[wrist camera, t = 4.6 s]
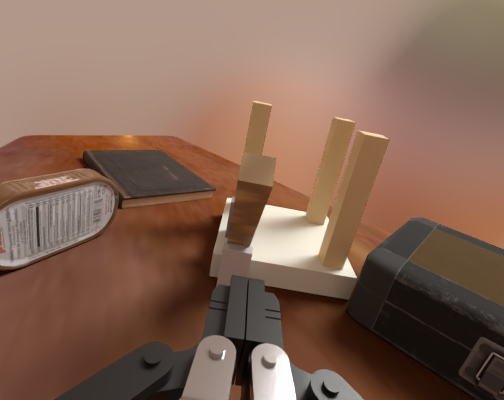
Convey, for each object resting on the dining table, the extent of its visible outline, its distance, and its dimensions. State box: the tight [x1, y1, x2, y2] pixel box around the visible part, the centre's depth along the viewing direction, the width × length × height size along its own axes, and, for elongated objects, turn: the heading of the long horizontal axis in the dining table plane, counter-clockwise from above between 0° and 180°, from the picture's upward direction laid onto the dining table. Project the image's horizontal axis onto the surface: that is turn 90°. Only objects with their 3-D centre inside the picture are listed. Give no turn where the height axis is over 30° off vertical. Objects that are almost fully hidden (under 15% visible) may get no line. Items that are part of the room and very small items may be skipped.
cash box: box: [348, 218, 504, 400], centre depth 31 cm, size 25×20×8 cm
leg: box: [227, 152, 276, 246], centre depth 28 cm, size 2×2×15 cm
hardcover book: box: [83, 150, 216, 209], centre depth 57 cm, size 16×23×2 cm
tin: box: [0, 169, 119, 270], centre depth 32 cm, size 15×3×8 cm, turn 153°
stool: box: [209, 101, 389, 300], centre depth 37 cm, size 16×18×18 cm
